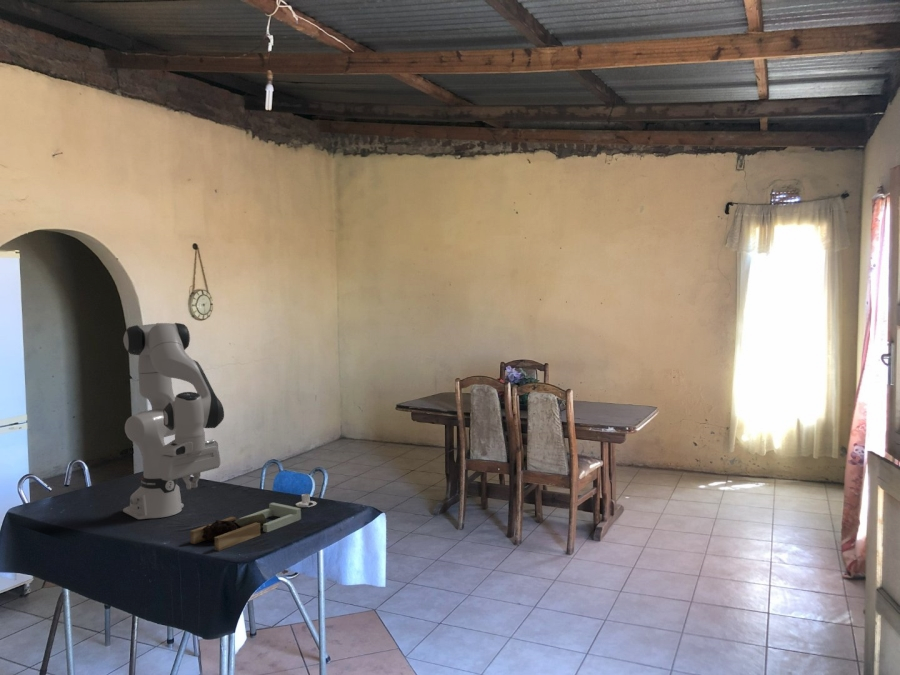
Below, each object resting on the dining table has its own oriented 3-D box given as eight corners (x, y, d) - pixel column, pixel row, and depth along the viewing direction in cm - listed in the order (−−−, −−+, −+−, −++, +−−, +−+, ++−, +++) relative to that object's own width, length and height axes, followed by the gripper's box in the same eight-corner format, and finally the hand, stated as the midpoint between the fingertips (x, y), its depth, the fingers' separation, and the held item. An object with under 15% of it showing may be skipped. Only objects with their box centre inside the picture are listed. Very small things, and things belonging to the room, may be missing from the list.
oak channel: (190, 542, 226) (190, 530, 226) (232, 527, 240) (232, 516, 240) (219, 550, 218) (218, 538, 218) (260, 535, 233) (260, 523, 232)
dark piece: (258, 526, 242) (258, 507, 242) (269, 532, 237) (269, 513, 236) (200, 541, 228) (200, 521, 228) (211, 547, 222) (210, 527, 222)
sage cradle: (239, 525, 243) (238, 514, 242) (273, 513, 256) (273, 502, 256) (267, 532, 235) (266, 520, 235) (301, 519, 249) (300, 508, 248)
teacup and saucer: (304, 510, 261) (304, 499, 260) (289, 506, 265) (289, 496, 265) (321, 504, 268) (320, 493, 268) (306, 501, 272) (305, 490, 272)
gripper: (211, 437, 227) (212, 479, 228) (155, 449, 210) (157, 494, 211) (223, 439, 224) (225, 481, 225) (168, 451, 207) (170, 497, 207)
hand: (191, 488), depth 218 cm, fingers closed
